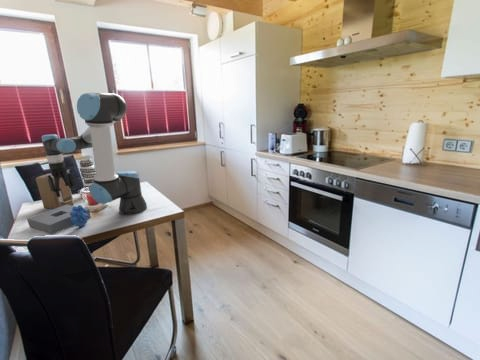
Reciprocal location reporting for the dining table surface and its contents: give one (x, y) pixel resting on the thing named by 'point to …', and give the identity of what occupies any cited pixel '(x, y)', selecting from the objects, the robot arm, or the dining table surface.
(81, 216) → the grapes
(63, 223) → the seat block
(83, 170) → the decorative candle
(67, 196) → the walnut peg
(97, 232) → the dining table surface
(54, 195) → the wooden block
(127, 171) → the robot arm
